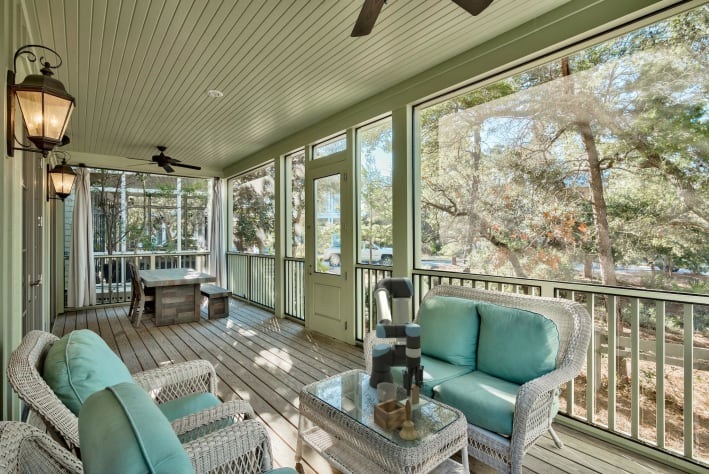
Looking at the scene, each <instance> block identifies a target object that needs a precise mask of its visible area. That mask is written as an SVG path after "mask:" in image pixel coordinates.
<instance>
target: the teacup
mask: <svg viewBox="0 0 709 474" xmlns="http://www.w3.org/2000/svg"><path fill="white" fill-rule="evenodd" d="M397 391H398V387H397V385H396V384H392V383H387V382H384V383H379V384H378V385H377V388H376V393H377V398H378V400H379V401H381V402H380V403H382V402H385V401H387V400H390V399H393V398H397Z"/></svg>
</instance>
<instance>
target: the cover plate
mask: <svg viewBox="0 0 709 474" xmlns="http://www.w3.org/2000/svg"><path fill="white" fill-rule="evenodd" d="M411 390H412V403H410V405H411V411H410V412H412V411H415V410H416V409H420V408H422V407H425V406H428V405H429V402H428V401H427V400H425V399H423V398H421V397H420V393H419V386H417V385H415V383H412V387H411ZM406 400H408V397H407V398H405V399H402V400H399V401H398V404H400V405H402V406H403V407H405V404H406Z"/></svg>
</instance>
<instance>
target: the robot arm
mask: <svg viewBox="0 0 709 474" xmlns="http://www.w3.org/2000/svg"><path fill="white" fill-rule="evenodd" d="M373 296H374V298H375V301H376V302H375V303H376V312H377V319H378V320H377V322H378V323H377V324H375V337H376V338H377V339H396V341H395V342H394V343H393V346H391V344H389V343H385V342H384V343H378V344H376V345H375V346H373V347H372V349H371V373H370V377H369V380H368V385H369V386H370V387H372V388H374V389H377V385H378V384H379V383H384V382H387V383H392V384H394V383H395V380H394V377H393V374H392V368H405V369H401V372H402V379H403V380H402V383H403V389H404V390H406V396H407V398H408V400H409V402H410V403H412V390H411V387H412V384H413V378H414V384H415V385H417V386H419V394H420V392H421V388H422V387H423V385H424V369H425V366H424V365H423V364H421V363H422V359H421V358H422V357H421V354H422V353H421V351H422V350H421V349H422V347H421V345H422V344H421V343H422V342H421V338H422V337H421V336H422V335H421V334H422V330H421V326H420V325H419V324H417V323H412V322H410V304H409V302H410V301H411V298H412V297H413V296H414V285H413V283H412V280H411V279H410V278H409V277H403V276H402V277H384V278H382V279H380V280H379V281H378V282H377V283H376V284H375V286H374V289H373ZM389 297H392V300H393V301H394V305H395V306H394V309H395V312H394V313H395V323H393V321H392V320H393V318H392V314H391V313H392V312H391V306H390V299H389ZM394 385H395V384H394Z"/></svg>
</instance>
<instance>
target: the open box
mask: <svg viewBox="0 0 709 474" xmlns="http://www.w3.org/2000/svg"><path fill="white" fill-rule="evenodd" d="M397 401H398V398H397V397H396V398H393V399H390V400H387V401H385V402H380V403H377V404H374V405H373V422H375V423H376V424H377V425H379V426H380V427H381V428H383V430H385V431H387V432H391V431H393V430H396V429H398V428H401V427H403V424H404V422H405V421H407V419H406V416H407V414H406V410H405V407H404V406H402V405H401V404H399V402H397ZM411 414H412V413H411V412H410V421H411ZM411 422H412V421H411Z"/></svg>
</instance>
